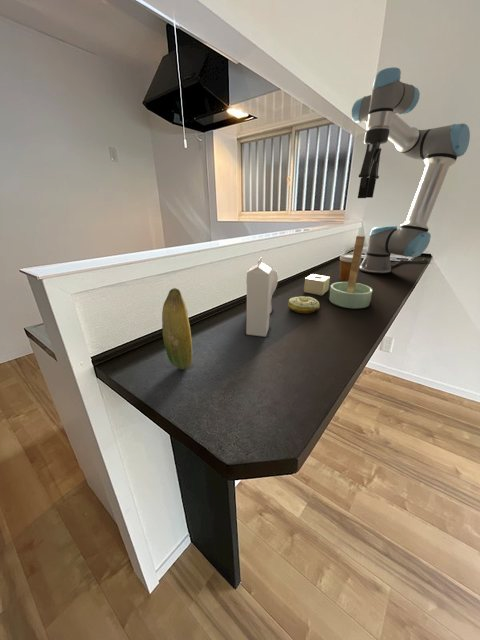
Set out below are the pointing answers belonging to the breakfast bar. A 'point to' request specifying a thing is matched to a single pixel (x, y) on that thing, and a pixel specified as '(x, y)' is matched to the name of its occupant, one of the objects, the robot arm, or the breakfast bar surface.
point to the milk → (258, 299)
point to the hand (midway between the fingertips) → (365, 198)
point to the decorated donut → (303, 304)
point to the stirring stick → (355, 263)
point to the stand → (316, 284)
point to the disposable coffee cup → (345, 266)
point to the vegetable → (177, 330)
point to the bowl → (350, 295)
